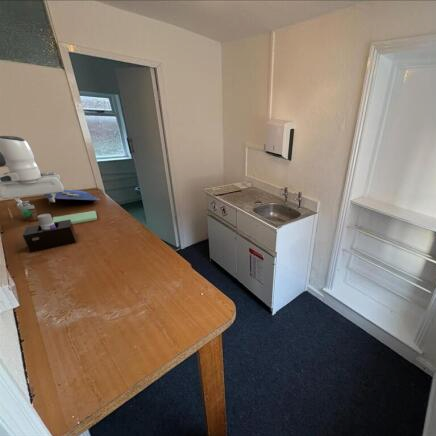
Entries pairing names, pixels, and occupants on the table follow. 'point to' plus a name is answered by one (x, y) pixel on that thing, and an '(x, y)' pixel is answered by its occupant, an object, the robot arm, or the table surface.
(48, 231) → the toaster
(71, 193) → the blue sloped panel
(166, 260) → the table surface
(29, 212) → the food container
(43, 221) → the container
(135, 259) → the table surface
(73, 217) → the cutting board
